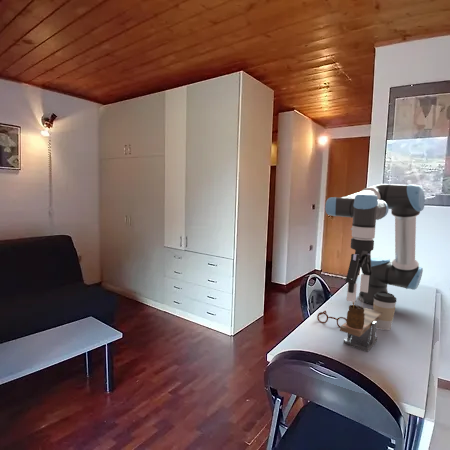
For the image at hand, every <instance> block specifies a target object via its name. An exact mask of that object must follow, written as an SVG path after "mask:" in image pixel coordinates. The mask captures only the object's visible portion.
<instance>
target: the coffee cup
mask: <svg viewBox="0 0 450 450" xmlns="http://www.w3.org/2000/svg"><path fill="white" fill-rule="evenodd" d="M373 298H374V303H373V304H372V305H373V307H372V310H375V311H379V312H383V313H382V317H380V318H379V319H378V320H377V324H376V329H378V330H384V331H390V330H391V329H392V324H393V320H394V316H395V311H396V304H397V297H395V295H394V294H392V293H390V292H388V293H387V292H385V291H380V292H377V293H376V294H374V297H373Z"/></svg>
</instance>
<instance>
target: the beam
mask: <svg viewBox="0 0 450 450" xmlns="http://www.w3.org/2000/svg"><path fill="white" fill-rule="evenodd" d="M363 308H364V314H365V319H364V326H363V328H361V329H356V328H352V327H349V326H348V325H347V322H346V321H345V322H344V323H343V324H342V325H339V326H340V327H339V331H340V332H343V333H346V334H348V333H349V334H352V335H355V336H358V337H360V336H361V335H362V334H363V333H364V332H365V331H367V330H368V329H369V328H370V327H371V328H372V323H373V322H374V321H377V320H378V319H379V318H380V317H382V313H383V312H379V311H375V310H373V308H367V307H363Z"/></svg>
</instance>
